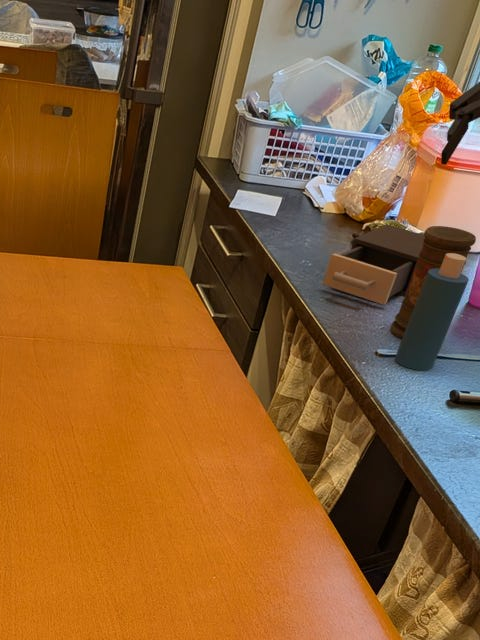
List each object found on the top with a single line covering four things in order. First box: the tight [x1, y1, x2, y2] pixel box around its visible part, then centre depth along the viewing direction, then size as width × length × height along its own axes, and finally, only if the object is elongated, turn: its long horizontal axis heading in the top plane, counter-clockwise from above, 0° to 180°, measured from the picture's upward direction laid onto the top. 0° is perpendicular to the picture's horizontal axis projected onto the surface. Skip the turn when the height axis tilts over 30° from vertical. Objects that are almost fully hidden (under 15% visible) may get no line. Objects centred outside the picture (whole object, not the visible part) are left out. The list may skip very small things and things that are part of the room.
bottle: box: [394, 253, 470, 371], centre depth 155 cm, size 6×6×18 cm
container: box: [390, 225, 477, 340], centre depth 165 cm, size 9×9×18 cm
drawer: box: [322, 245, 416, 306], centre depth 184 cm, size 20×13×6 cm, turn 139°
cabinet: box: [350, 224, 425, 298], centre depth 192 cm, size 17×14×8 cm
